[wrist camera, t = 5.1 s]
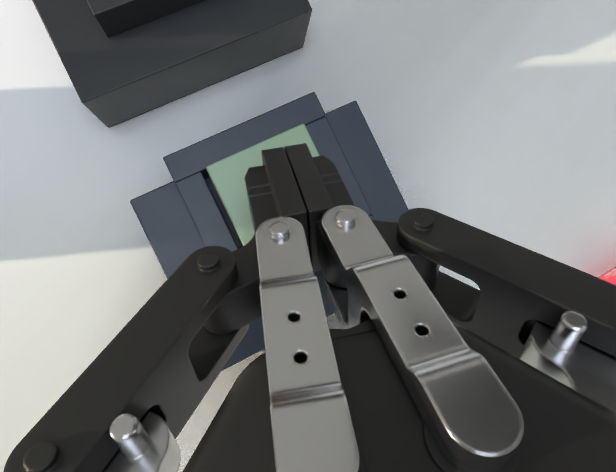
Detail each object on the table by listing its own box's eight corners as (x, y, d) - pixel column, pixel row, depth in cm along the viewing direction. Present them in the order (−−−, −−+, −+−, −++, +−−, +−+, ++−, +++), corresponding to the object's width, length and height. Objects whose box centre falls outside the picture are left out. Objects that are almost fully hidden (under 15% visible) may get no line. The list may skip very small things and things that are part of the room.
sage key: (252, 265, 20) (253, 266, 18) (209, 175, 20) (205, 166, 18) (340, 223, 21) (350, 219, 19) (298, 135, 21) (304, 122, 19)
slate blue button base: (219, 357, 25) (210, 386, 19) (143, 199, 25) (110, 179, 19) (406, 261, 27) (451, 261, 21) (335, 113, 27) (360, 71, 21)
